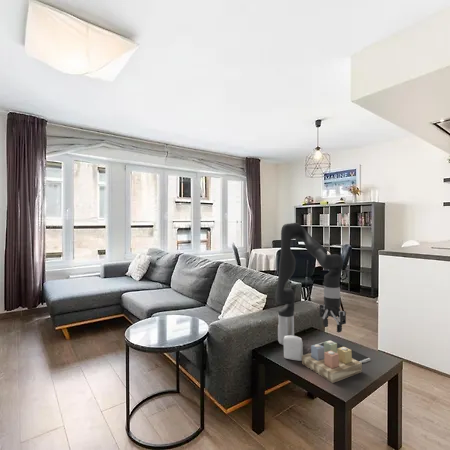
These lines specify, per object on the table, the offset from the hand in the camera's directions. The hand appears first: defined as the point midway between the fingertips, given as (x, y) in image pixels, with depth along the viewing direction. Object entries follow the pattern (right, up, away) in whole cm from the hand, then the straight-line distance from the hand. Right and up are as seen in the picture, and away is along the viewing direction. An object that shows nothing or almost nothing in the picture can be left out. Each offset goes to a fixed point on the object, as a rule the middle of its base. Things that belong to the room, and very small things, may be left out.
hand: (332, 329), depth 139 cm
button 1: (-5, -18, +8) cm, 20 cm away
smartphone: (+14, -22, +22) cm, 34 cm away
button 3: (0, -18, 0) cm, 18 cm away
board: (+2, -22, +6) cm, 23 cm away
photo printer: (-15, -22, +17) cm, 32 cm away
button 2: (+3, -17, +12) cm, 21 cm away
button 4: (+8, -17, +4) cm, 19 cm away
